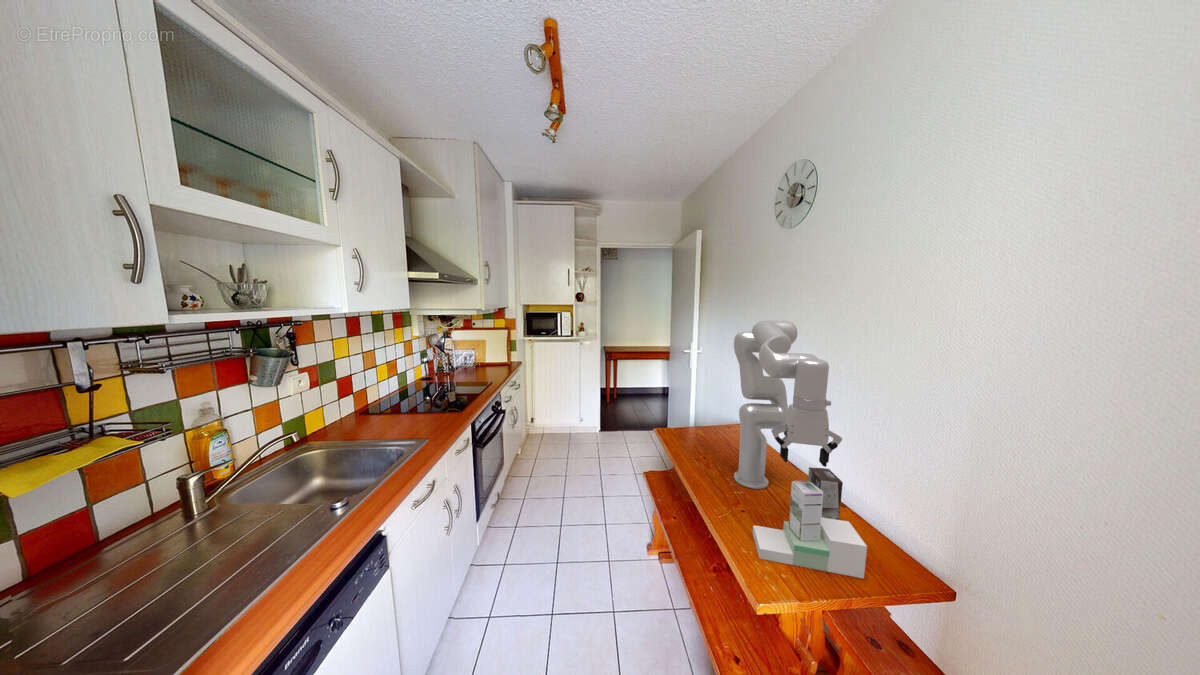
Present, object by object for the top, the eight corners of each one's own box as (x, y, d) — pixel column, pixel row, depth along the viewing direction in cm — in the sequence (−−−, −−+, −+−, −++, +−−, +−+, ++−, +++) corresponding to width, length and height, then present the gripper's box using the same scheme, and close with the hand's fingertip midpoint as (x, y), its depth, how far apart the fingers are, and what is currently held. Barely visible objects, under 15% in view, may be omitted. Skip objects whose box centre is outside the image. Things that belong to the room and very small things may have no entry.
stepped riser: (752, 534, 102) (754, 506, 101) (846, 550, 95) (848, 521, 94) (759, 559, 92) (761, 529, 91) (864, 579, 85) (867, 547, 84)
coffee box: (839, 531, 103) (843, 482, 101) (816, 528, 104) (820, 480, 103) (825, 513, 112) (829, 468, 110) (804, 510, 113) (808, 466, 111)
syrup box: (820, 541, 90) (825, 491, 89) (799, 541, 90) (803, 491, 89) (807, 527, 96) (811, 480, 95) (787, 527, 96) (790, 480, 94)
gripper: (838, 401, 92) (832, 459, 94) (770, 396, 96) (766, 452, 99) (851, 410, 85) (844, 473, 87) (777, 404, 89) (773, 464, 91)
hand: (803, 461), depth 93 cm, fingers open, 9 cm apart
